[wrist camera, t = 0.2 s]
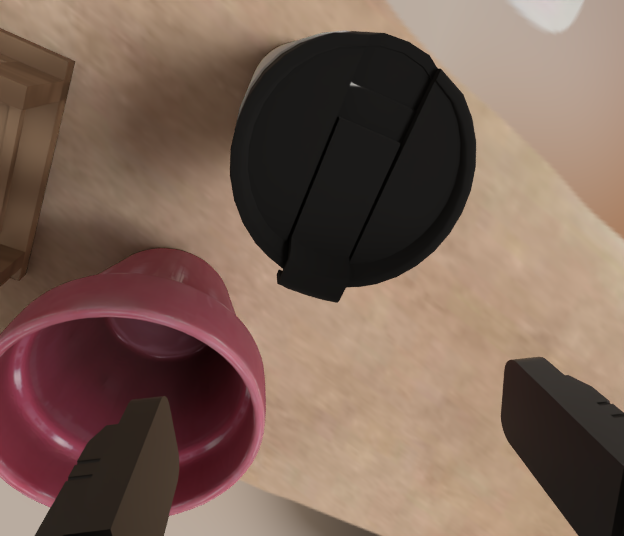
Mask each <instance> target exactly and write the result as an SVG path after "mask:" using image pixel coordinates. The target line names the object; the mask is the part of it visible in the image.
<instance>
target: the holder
mask: <svg viewBox="0 0 624 536" xmlns="http://www.w3.org/2000/svg"><path fill="white" fill-rule="evenodd" d="M74 64H75V61H73V60H71V59H68V58H66V57H64V56H62V55H59V54H57V53H55V52H53V51H50V50H48V49H46V48H44V47H41V46H39V45H37V44H35V43H32V42H30V41H28V40H26V39H23V38H21V37H19V36H17V35H14V34H12V33H10V32H8V31H6V30H3V29H1V28H0V286H1V285H3V284H4V283H5V282H6V281H7V280H8V279H9V278H12V279H15V280H18V281H19V280H20V279H21V278H22V277H23V276H24V275H25V274H26V271H27V266H28V262H29V258H30V253H31V249H32V245H33V241H34V236H35V232H36V228H37V223H38V219H39V215H40V210H41V206H42V202H43V197H44V193H45V189H46V184H47V180H48V176H49V172H50V167H51V163H52V159H53V154H54V150H55V146H56V141H57V137H58V133H59V128H60V124H61V120H62V115H63V111H64V107H65V103H66V98H67V94H68V90H69V85H70V81H71V77H72V72H73V68H74Z"/></svg>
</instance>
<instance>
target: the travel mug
mask: <svg viewBox="0 0 624 536" xmlns="http://www.w3.org/2000/svg"><path fill="white" fill-rule="evenodd" d="M475 167H476V139H475V132H474V126H473V120H472V116H471V114H470V111H469V108H468V106H467V103H466V100H465V98H464V95H463V94H462V92H461V91H460V90H459V89H458V88H457V87H456V86H455V84H454V83H453V82H452V81H451V80H450V79H449V78H448V76H447V75H446V74H445V73H444V72H443V71H442V70H441V69H438V68H437V67H436V65H435V64H434V62H433V60H432V59H431V57H430V55H428V54H426V53H425V52H423V51H422V50H420V49H419V48H417V47H416V46H414V45H413V44H411V43H410V42H408V41H405V40H402V39H399V38H397V37H394V36H391V35H388V34H386V33H373V32H356V31H336V32H326V33H320V34H316V35H313V36H310V37H306V38H303V39H300V40H296V41H293V42H290V43H287V44H284V45H281V46H279V47H277V48H275V49H274V50H272V51H270V52H269V53H268V54H267V55H266V56H265V57H264V58H263V59H262V61H261V62H260V63H259V65H258V66H257V68H256V70H255V72H254V75H253V77H252V79H251V82H250V84H249V87H248V89H247V92H246V94H245V96H244V99H243V101H242V104H241V106H240V109H239V114H238V118H237V123H236V127H235V132H234V136H233V140H232V145H231V155H230V178H231V184H232V190H233V196H234V201H235V203H236V206H237V209H238V211H239V214H240V217H241V219H242V222H243V224H244V226H245V227H246V229H247V230H248V232H249V233H250V235H251V237H252V238H253V240H254V241H255V243H256V244H257V245H258V246H259V247H260V248H261V249H262V250H263V252H264V253H265V254H266V255H267V256H268V257H269V258H271V259H272V260H273V261H274V262H275V263H277V264H278V265H279V266H280V267H281V268H283V271H281V270H278V273H277V283H278V284H280V285H282V286H284V287H286V288H288V289H291V290H293V291H296V292H299V293H302V294H305V295H308V296H312V297H315V298H319V299H322V300H326V301H331V302H339V300H340V298H341V296H342V294H343V292H344V290H345V288H346V287H361V286H367V285H373V284H378V283H381V282H383V281H386V280H389V279H392V278H395V277H397V276H399V275H401V274H403V273H404V272H406V271H408V270H410V269H412V268H413V267H415V266H417V265H418V264H419V263H420V262H422V261H423V260H424V259H425V258H427V257H428V256H429V255H430V254H431V253H433V252H434V251H435V250H436V249H437V247H438V246H439V245H440V244H441V243H442V242H443V240H444V239H445V238H446V237H447V236H448V235H449V234H450V232H451V230H452V229H453V227H454V225H455V224H456V222H457V220H458V219H459V217H460V215H461V214H462V212H463V209H464V207H465V204H466V201H467V199H468V196H469V194H470V191H471V187H472V182H473V177H474V172H475Z"/></svg>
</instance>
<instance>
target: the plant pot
mask: <svg viewBox="0 0 624 536" xmlns="http://www.w3.org/2000/svg"><path fill="white" fill-rule="evenodd" d="M161 396H165V397H167V399H168V402H169V405H170V411H171V416H172V421H173V426H174V431H175V436H176V442H177V447H178V452H179V476H178V482H177V486H176V490H175V494H174V498H173V501H172V505H171V509H170V513H169V516H170V515H174V514H178V513H181V512H184V511H187V510H190V509H193V508H195V507H198V506H200V505H202V504H205V503H207V502H208V501H210V500H212V499H214V498H216V497H217V496H219V495H220V494H222V493H223V492H225V491H226V490H227V489H229V488H230V487H231V486H232V485H234V484H235V483H236V482H237V481H238V480H239V479H240V478H241V477H242V476H243V474H244V473H245V472H246V471H247V469H248V468H249V467H250V465H251V464H252V462H253V460H254V459H255V457H256V455H257V453H258V451H259V448H260V445H261V442H262V438H263V434H264V426H265V412H266V397H265V377H264V368H263V362H262V358H261V355H260V352H259V349H258V347H257V345H256V343H255V341H254V339H253V337H252V335H251V334H250V332H249V331H248V329H247V328H246V327H245V325H244V324H243V323H242V322H241V321H240V319H239V318H238V317H237V316H236V314H235V311H234V309H233V306H232V303H231V300H230V297H229V294H228V291H227V288H226V286H225V284H224V282H223V280H222V279H221V277H220V276H219V274H218V273H217V272H216V271H215V270H214V269H213V268H212V267H211V266H210V265H209V264H208V263H206V262H205V261H204V260H202V259H200V258H198V257H197V256H195V255H192V254H190V253H187V252H184V251H181V250H177V249H169V248H157V249H149V250H144V251H141V252H138V253H135V254H133V255H131V256H129V257H127V258H126V259H124V260H122V261H121V262H119V263H117V264H115V265H113V266H112V267H110V268H108V269H106V270H105V271H103V272H101V273H100V274H98V275H93V276H88V277H84V278H80V279H76V280H73V281H70V282H67V283H65V284H62V285H60V286H57V287H55V288H53V289H51V290H49V291H48V292H46V293H44V294H43V295H41V296H40V297H38V298H37V299H35V300H34V301H33V302H31V303H30V304H29V305H28V306H27V307H26V308H25V309H24V310H23V311H22V312H21V313H20V314H19V315H18V316H17V317H16V318H15V319H14V320H13V321H12V322H11V323H10V324H9V325H8V326H7V327H6V328H5V330H4V331H3V332H2V333H1V334H0V477H1V478H2V479H3V480H4V481H5V482H6V483H8V484H9V485H10V486H12V487H13V488H14V489H16V490H18V491H19V492H21V493H22V494H24V495H25V496H27V497H29V498H31V499H33V500H35V501H37V502H39V503H41V504H44V505H46V506H48V507H51V506H52V504H53V503H54V501H55V499H56V497H57V496H58V494H59V492H60V490H61V488H62V487H63V485H64V483H65V481H68V476H69V474H70V473H71V471H72V469H73V467H74V466H75V465H77V460H78V458H79V457H80V455H81V453H82V451H83V450H84V448H85V446H86V444H87V443H88V442H89V441H90V440H91V439H92V438H93V437H94V436H95V435H96V434H97V433H98V432H100V431H101V430H102V429H103V428H104V427H105V426H106V425H113V424H118V423H119V421H120V419H121V417H122V415H123V413H124V411H125V409H126V407H127V405H128V403H129V402H130V401H131V400H133V399H142V398H151V397H161Z"/></svg>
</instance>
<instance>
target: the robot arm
mask: <svg viewBox="0 0 624 536" xmlns="http://www.w3.org/2000/svg"><path fill="white" fill-rule="evenodd" d="M501 422H502V427H503V431H504V434H505V436H506V438H507V440H508V442H509V443H510V445H511V446H512V447H513V449H514V450H515V451H516V453H517V454H518V455H519V457H520V458H521V459H522V461H523V462H524V463H525V465H526V466H527V467H528V469H529V470H530V472H531V473H532V474H533V476H534V477H535V478H536V480H537V481H538V482H539V484H540V485H541V486H542V488H543V489H544V490H545V492H546V493H547V494H548V496H549V497H550V498H551V500H552V501H553V502H554V504H555V505H556V506H557V508H558V509H559V510H560V512H561V513H562V514H563V516H564V517H565V518H566V520H567V521H568V522H569V524H570V525H571V526H572V528H573V529H574V530H575V532H576V533H577V534H578V536H624V413H623V412H622V411H621V410H620V409H618V408H617V407H616V406H615V405H614V404H610V402H609V400H608V399H606V398H605V397H604V396H603V395H601V394H600V393H599V392H598V391H597V390H595V389H594V388H593V387H592V386H590V385H587V384H585V383H583V382H581V381H579V380H577V379H575V378H573V377H571V376H569V375H566V376H565V375H564V374H562V373H561V372H560V371H559V370H558V369H557V368H555V367H554V366H553V365H552V364H551V363H550V362H548V361H547V360H546V359H545V358H543V357H533V358H524V359H514V360H509V361H508V362H507V363H506V365H505V370H504V383H503V395H502V408H501ZM178 476H179V452H178V447H177V442H176V436H175V431H174V426H173V421H172V416H171V411H170V405H169V402H168V399H167V397H165V396H161V397H151V398H142V399H133V400H131V401H130V402H129V403H128V405H127V407H126V409H125V411H124V413H123V415H122V417H121V419H120V421H119V423H118V424H113V425H106V426H105V427H104V428H103V429H102V430H101V431H100V432H98V433H97V434H96V435H95V436H94V437H93V438H92V439H91V440H90V441H89V442H88V443H87V444H86V446H85V448H84V450H83V451H82V453H81V455H80V457H79V458H78V460H77V465H75V466H74V467H73V469H72V471H71V473H70V474H69V476H68V481H65V483H64V485H63V487H62V488H61V490H60V492H59V494H58V496H57V497H56V499H55V501H54V503H53V504H52V506H51V508H50V510H49V511H48V513H47V515H46V517H45V518H44V520H43V522H42V524H41V525H40V527H39V529H38V531H37V533H36V535H35V536H164V533H165V529H166V525H167V521H168V517H169V513H170V509H171V505H172V501H173V498H174V494H175V490H176V486H177V482H178Z"/></svg>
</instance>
